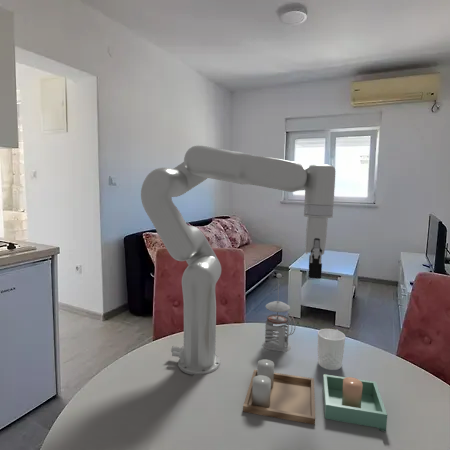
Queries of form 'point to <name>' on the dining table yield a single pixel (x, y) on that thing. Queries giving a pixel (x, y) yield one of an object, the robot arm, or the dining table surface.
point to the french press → (281, 340)
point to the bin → (366, 415)
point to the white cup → (330, 348)
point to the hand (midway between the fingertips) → (314, 273)
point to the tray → (286, 399)
